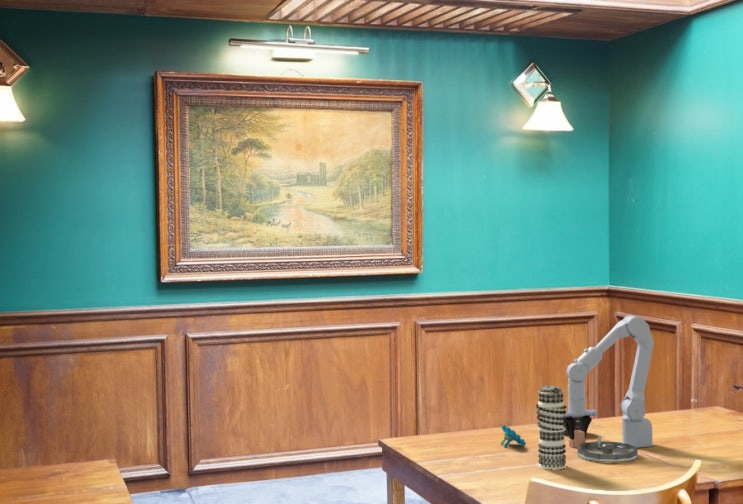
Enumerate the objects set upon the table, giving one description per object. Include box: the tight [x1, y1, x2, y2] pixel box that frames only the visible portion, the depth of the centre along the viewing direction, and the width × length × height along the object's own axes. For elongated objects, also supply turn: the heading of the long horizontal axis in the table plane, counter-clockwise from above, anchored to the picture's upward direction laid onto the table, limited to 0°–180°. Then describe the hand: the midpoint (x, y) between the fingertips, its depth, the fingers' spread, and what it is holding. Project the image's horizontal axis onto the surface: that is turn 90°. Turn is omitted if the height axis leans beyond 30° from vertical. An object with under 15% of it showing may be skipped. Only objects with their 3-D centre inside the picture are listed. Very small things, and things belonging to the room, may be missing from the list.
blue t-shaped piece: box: [500, 424, 527, 448], centre depth 322 cm, size 11×6×10 cm
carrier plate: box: [577, 436, 639, 464], centre depth 306 cm, size 19×19×5 cm
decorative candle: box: [535, 385, 567, 471], centre depth 293 cm, size 9×9×25 cm
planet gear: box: [568, 430, 587, 449], centre depth 320 cm, size 5×5×5 cm
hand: (577, 438), depth 320 cm, fingers open, 4 cm apart
